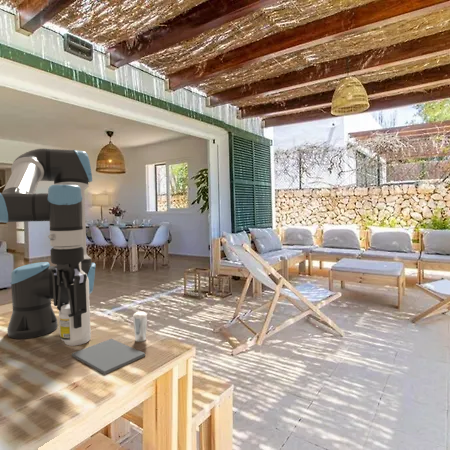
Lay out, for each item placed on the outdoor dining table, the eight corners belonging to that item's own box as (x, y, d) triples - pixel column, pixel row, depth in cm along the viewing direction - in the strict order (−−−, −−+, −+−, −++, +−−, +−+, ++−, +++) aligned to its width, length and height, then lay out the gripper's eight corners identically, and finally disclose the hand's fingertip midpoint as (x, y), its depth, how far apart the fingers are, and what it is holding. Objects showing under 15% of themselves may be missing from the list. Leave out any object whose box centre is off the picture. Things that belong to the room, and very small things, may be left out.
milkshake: (146, 343, 104) (145, 312, 104) (130, 342, 105) (130, 311, 105) (152, 337, 109) (151, 307, 108) (137, 336, 110) (136, 307, 109)
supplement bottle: (75, 332, 88) (74, 301, 87) (84, 337, 85) (83, 305, 84) (57, 338, 84) (55, 306, 84) (65, 343, 81) (64, 310, 81)
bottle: (63, 348, 101) (59, 251, 99) (64, 338, 108) (60, 248, 106) (91, 343, 105) (88, 249, 103) (90, 334, 112) (87, 246, 110)
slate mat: (71, 356, 96) (71, 353, 96) (111, 341, 106) (111, 338, 106) (104, 374, 85) (104, 371, 85) (145, 355, 96) (145, 353, 96)
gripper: (35, 245, 85) (40, 332, 87) (70, 252, 74) (74, 352, 76) (64, 242, 91) (68, 324, 93) (100, 248, 80) (103, 341, 82)
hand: (70, 336), depth 84 cm, fingers closed on supplement bottle, 5 cm apart
